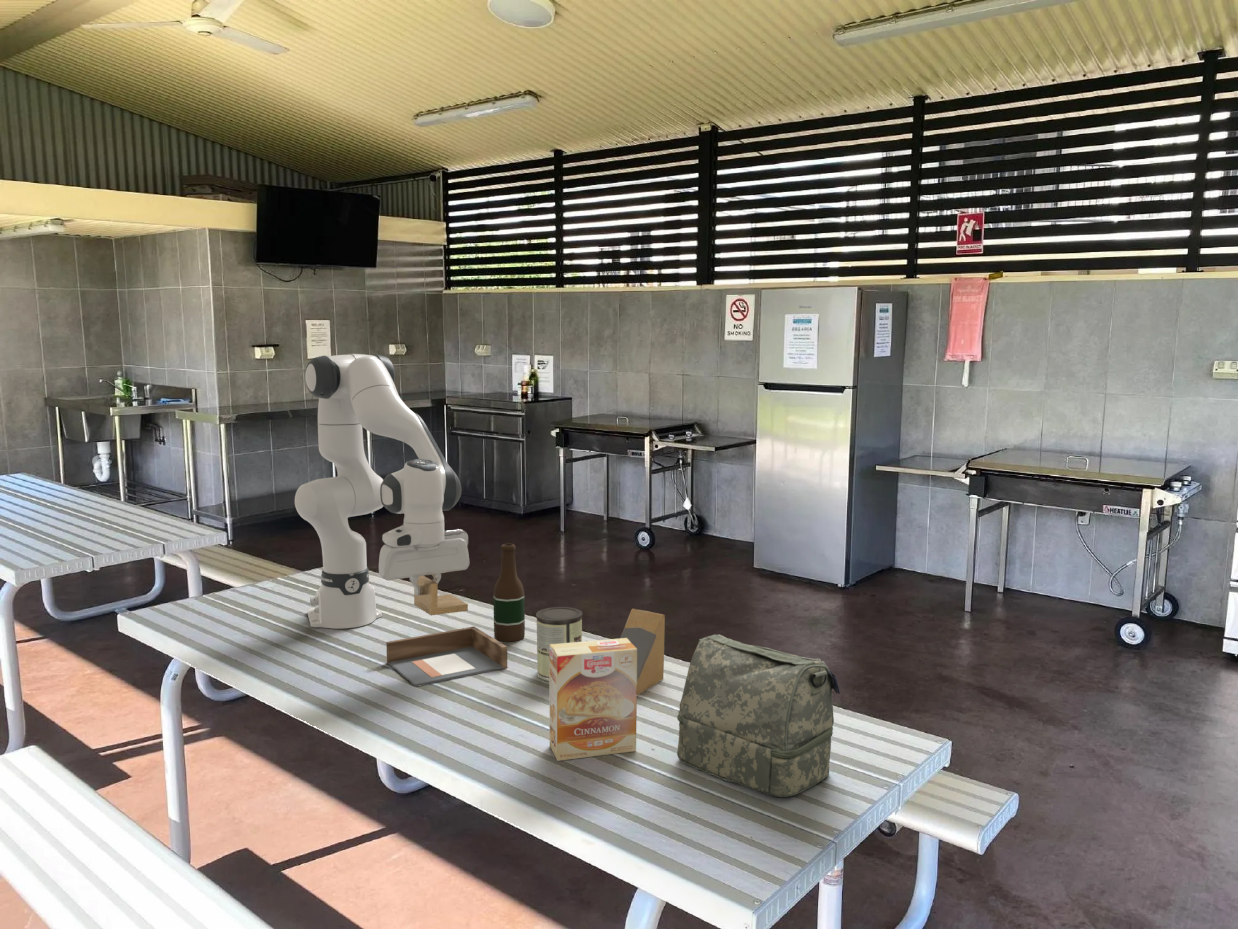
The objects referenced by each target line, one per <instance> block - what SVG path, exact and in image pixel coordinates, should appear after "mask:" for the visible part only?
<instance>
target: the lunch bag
mask: <svg viewBox="0 0 1238 929" xmlns="http://www.w3.org/2000/svg"><path fill="white" fill-rule="evenodd" d="M833 691H834V692H835V693H836V694H838V695H839V694H841V693H840V687H839V683H838V680H837V677H836V675H835V674H834V673H833V672H832V671H831V670H830V669H829V667H828V666H827V664H826V662H825V661H824V660H823V661H822V660H821V659H820V658H809V657H804V656H800V655H797V654H791V653H788V652H784V651H780V650H776V649H773V648H771V647H766V646H765V647H764V646H759V645H751V644H747V643H743V642H741V641H737V640H733V639H731V638H727V637H725V636H724V635H722V634H712V635H708V636H705V637H702V638H700V639H698V644H697V646H696V647H695V650H694V652H693V654H692V657H691V660H690V663H689V667H688V670H687V674H686V678H685V683H684V686H683V692H682V694H681V699H680V703H679V711H678V714H677V716H676V718H677V721H678V727H679V728H678V743H677V752H676V756H677V758H678V759H679V760H680V761H681V762H682V763H684V764H686V765H689V766H691V767H693V768H695V769H698V770H700V771H702V772H705V773H707V774H709V775H712V776H715V777H717V778H719V779H720V780H724V781H727V782H732V783H735V784H737V785H741V786H743V787H746V788H749V789H752V790H754V791H758V792H762V793H764V794H766V795H768V796H769V795H770V796H773V797H776V798H785V797H792V796H796V795H798V794H801V793H802V792H805V791H807V790H808V789H810V788H812V787H814V786H815V785H817V784H818V783H820V782H822V781H823V780H824V779H825V778H827V777H828V776H829V775H830V762H831V752H832V751H831V749H832V737H833V733H834V732H833V730H834V727H833V726H834V722H835V720H834V719H835V718H834V705H833V704H834V699H833Z"/></svg>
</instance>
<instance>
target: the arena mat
mask: <svg viewBox="0 0 1238 929" xmlns="http://www.w3.org/2000/svg"><path fill="white" fill-rule="evenodd" d="M388 665H389V666H390V667H392V668H393V669H394V670H395V671H396V670H397V671H396V672H397V673H398V674H400V675H401V676H402V675H403V676H402V677H403V678H404V677H405V678H404V679H406V680H407V681H408V680H409V681H410V682H411V683H410V682H409V681H408V682H409V683H410V684H411V685H412V686H414V687H415V686H416V687H420V686H419V685H421V686H425V685H426V686H427V685H430V684H429V683H431V684H435V683H440V682H443V680H445V681H448V680H449V679H450V680H454V679H453V678H455V679H458V678H463V677H468V676H473V675H478V674H482V673H483V674H484V673H487V672H493V671H497V670H501V669H502V670H503V669H504V668H503V666H501V665H500V664H498V663H497V662H495V661H493V660H492V659H490V658H489V657H487V656H486V655H484V654H483V653H481V652H480V651H478V650H477V649H475V648H474V647H466V648H461V649H456V650H451V651H445V652H440V653H435V654H429V655H424V656H419V657H413V658H408V659H403V660H398V661H392V662H389V664H388Z"/></svg>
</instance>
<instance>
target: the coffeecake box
mask: <svg viewBox="0 0 1238 929" xmlns="http://www.w3.org/2000/svg"><path fill="white" fill-rule="evenodd" d="M549 661H550V677H549V681H548V683H549V684H548V685H549V690H548V691H549V693H548V694H549V695H548V696H549V701H548V703H549V726H548V727H549V732H548V733H549V739H548V740H549V746H550V748H551V751H552V752H553V755H554V757H555V759H556V761H557V762H560V761H568V760H576V759H584V758H593V757H601V756H609V755H615V754H623V753H631V752H633V753H634V752H637V716H638V715H637V714H638V713H637V708H638V707H637V706H638V705H637V704H638V703H637V701H638V699H637V698H638V697H637V696H638V695H637V648H636V647H635V646H634V645H633V644H632V643H631V642H630V641H629V640H628V639H627V638H620V637H619V638H610V639H597V640H585V641H582V642H572V643H560V644H550V646H549Z"/></svg>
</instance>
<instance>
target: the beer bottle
mask: <svg viewBox="0 0 1238 929" xmlns="http://www.w3.org/2000/svg"><path fill="white" fill-rule="evenodd" d="M516 549H517V547H516V544H514V543H504V544H502V545H500V550H501V558H500V559H501V563H500V564H501V565H500V567H501V568H500V574H499V577H498V578H497V580H496V581H495V585H494V587H493V595H492V598H493V634H494V636H493V638H494V639H496V640H497V641H499V642H501V643H507V644H509V643H518V642H520V641H522V640H523V639H524V638H525V634H526V633H525V632H526V626H525V625H526V620H525V619H526V616H525V614H526V611H525V610H526V609H525V606H526V605H525V587H524V585H523V583H522V581H521V580H520V578H519V577H518V573H517V564H516V551H515V550H516Z"/></svg>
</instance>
